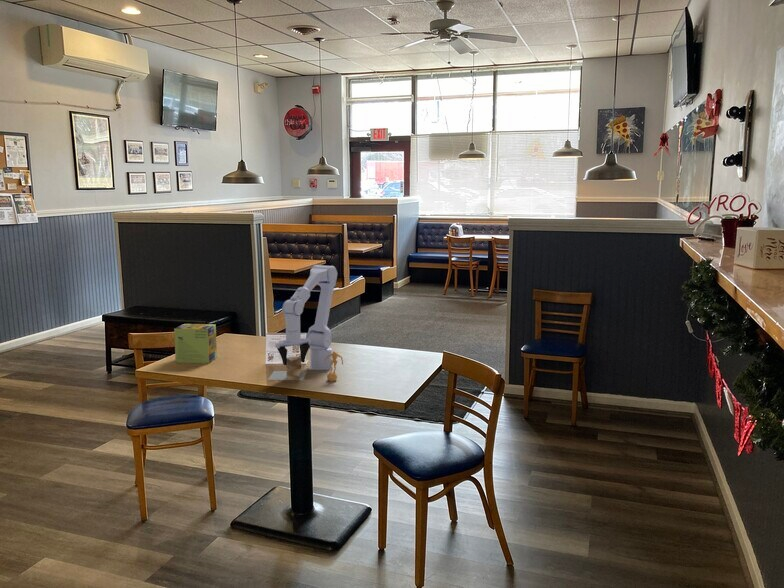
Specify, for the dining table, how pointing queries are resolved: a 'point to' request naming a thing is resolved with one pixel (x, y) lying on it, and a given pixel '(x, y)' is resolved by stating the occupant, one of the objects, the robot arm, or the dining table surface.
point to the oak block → (293, 374)
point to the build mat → (284, 375)
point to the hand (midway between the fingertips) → (293, 363)
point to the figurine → (332, 375)
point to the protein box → (195, 343)
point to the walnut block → (293, 363)
